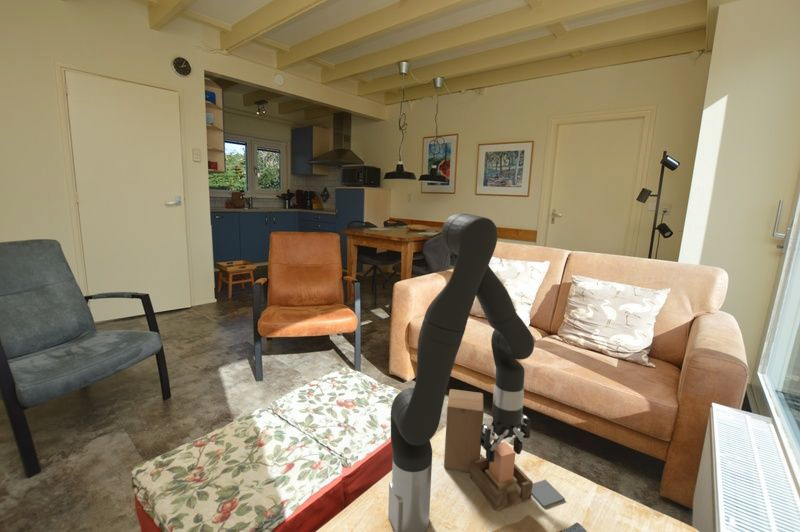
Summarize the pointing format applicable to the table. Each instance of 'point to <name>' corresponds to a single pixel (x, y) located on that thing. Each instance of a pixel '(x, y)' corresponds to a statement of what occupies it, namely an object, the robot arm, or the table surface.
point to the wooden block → (463, 429)
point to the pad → (546, 493)
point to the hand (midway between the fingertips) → (503, 456)
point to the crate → (501, 485)
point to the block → (503, 463)
